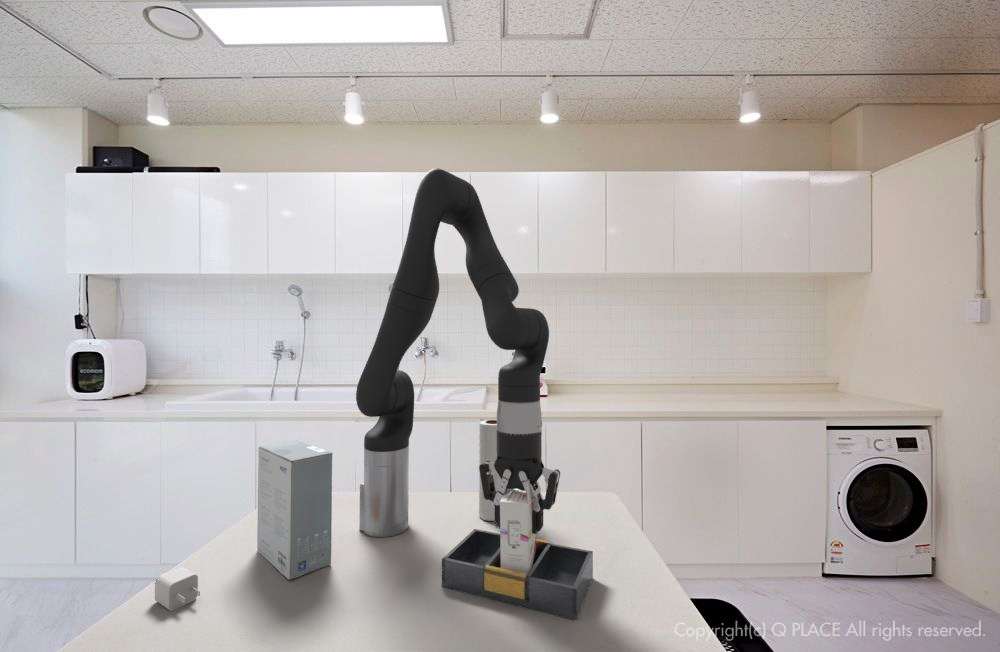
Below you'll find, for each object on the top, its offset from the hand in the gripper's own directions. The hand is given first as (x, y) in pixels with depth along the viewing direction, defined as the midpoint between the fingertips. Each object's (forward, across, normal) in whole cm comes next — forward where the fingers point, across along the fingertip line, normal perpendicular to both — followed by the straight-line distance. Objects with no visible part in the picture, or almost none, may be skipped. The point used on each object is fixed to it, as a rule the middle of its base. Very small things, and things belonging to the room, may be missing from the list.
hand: (518, 528), depth 75 cm
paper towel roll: (+9, -15, +24) cm, 29 cm away
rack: (+9, 0, 0) cm, 9 cm away
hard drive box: (+9, -41, -8) cm, 43 cm away
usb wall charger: (+9, -46, -26) cm, 53 cm away
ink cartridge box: (+6, 0, 0) cm, 6 cm away
